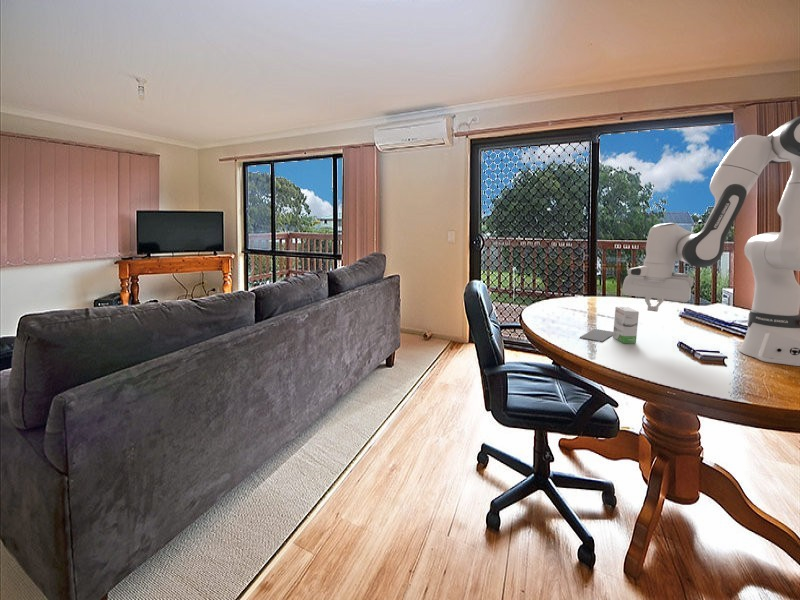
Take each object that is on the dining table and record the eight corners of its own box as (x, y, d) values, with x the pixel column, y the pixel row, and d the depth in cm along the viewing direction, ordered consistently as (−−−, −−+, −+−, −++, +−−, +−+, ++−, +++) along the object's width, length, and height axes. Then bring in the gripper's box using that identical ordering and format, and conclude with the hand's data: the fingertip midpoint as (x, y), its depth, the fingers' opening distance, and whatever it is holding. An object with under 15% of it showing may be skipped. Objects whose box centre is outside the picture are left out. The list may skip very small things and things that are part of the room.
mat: (616, 333, 160) (616, 332, 160) (602, 342, 148) (602, 341, 148) (594, 329, 165) (594, 328, 165) (579, 338, 154) (579, 337, 154)
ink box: (636, 343, 146) (640, 311, 144) (622, 343, 147) (625, 311, 144) (625, 337, 155) (628, 306, 152) (612, 336, 155) (614, 306, 153)
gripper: (696, 273, 135) (690, 314, 138) (628, 268, 149) (623, 305, 152) (692, 275, 131) (686, 317, 133) (622, 269, 145) (618, 307, 147)
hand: (652, 310), depth 143 cm, fingers closed
